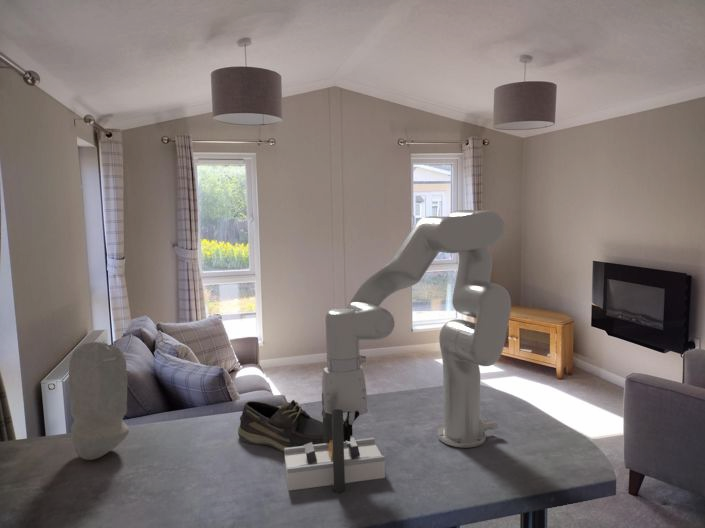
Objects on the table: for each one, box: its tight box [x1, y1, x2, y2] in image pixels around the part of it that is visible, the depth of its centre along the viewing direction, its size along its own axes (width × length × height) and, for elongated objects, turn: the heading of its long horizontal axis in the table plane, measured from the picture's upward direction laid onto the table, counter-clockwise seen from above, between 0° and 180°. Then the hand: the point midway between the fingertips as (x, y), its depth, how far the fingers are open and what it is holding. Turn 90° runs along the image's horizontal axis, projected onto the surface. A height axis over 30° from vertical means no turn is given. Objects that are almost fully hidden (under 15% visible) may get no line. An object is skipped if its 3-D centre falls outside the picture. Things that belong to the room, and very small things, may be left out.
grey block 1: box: [304, 442, 317, 463], centre depth 117 cm, size 2×4×2 cm, turn 11°
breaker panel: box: [283, 437, 386, 491], centre depth 119 cm, size 22×10×5 cm, turn 102°
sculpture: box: [68, 341, 130, 461], centre depth 128 cm, size 15×12×30 cm
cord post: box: [332, 409, 346, 494], centre depth 111 cm, size 2×2×18 cm
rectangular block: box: [328, 440, 333, 459], centre depth 119 cm, size 2×4×2 cm, turn 12°
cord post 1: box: [321, 405, 333, 443], centre depth 125 cm, size 2×2×18 cm
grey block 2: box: [346, 436, 360, 458], centre depth 119 cm, size 2×4×2 cm, turn 11°
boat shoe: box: [237, 399, 324, 453], centre depth 134 cm, size 11×29×11 cm, turn 72°
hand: (345, 438), depth 119 cm, fingers closed
